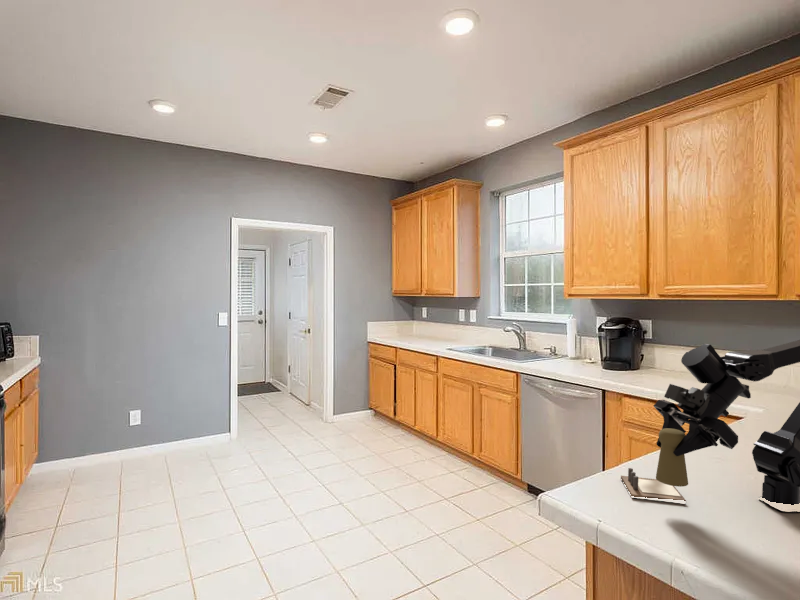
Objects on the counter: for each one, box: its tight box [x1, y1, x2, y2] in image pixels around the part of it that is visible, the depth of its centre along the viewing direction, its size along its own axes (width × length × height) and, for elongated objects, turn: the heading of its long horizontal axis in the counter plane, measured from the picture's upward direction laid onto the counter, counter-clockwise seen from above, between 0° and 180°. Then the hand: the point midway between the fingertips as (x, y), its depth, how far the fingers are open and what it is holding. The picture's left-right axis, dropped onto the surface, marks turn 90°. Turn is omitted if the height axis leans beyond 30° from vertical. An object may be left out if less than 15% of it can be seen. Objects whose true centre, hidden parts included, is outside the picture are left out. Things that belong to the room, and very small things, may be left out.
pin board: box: [620, 467, 687, 502], centre depth 108 cm, size 11×11×4 cm
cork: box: [655, 428, 689, 487], centre depth 98 cm, size 6×6×11 cm
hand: (666, 450), depth 98 cm, fingers closed on cork, 5 cm apart
